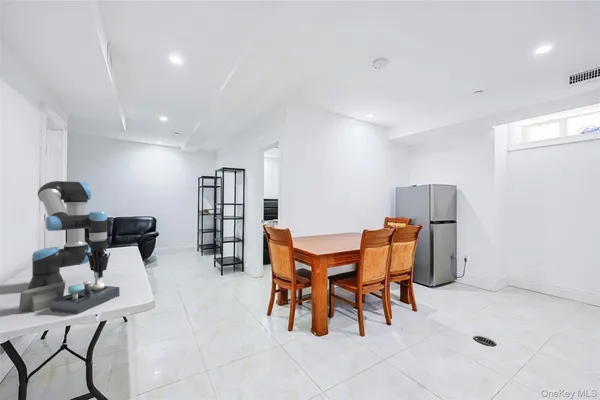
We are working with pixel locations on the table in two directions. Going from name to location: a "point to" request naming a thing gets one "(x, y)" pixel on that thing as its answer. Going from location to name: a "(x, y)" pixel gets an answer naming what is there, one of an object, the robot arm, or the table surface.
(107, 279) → the table surface
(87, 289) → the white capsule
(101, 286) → the knob inner
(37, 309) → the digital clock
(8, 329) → the table surface
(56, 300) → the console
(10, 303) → the table surface
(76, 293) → the knob outer
